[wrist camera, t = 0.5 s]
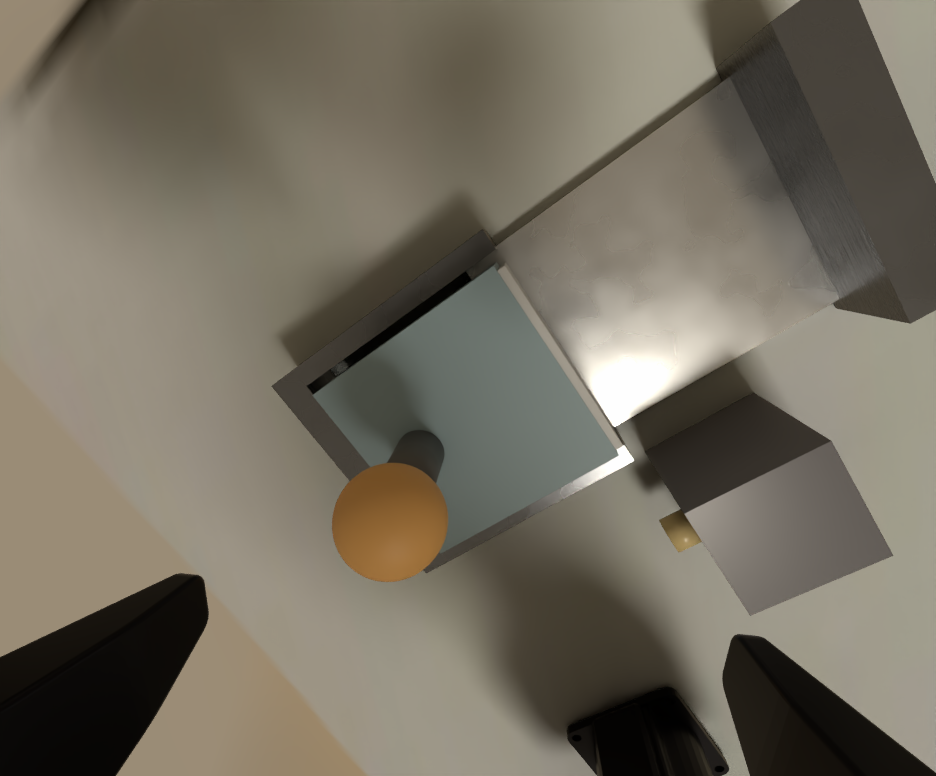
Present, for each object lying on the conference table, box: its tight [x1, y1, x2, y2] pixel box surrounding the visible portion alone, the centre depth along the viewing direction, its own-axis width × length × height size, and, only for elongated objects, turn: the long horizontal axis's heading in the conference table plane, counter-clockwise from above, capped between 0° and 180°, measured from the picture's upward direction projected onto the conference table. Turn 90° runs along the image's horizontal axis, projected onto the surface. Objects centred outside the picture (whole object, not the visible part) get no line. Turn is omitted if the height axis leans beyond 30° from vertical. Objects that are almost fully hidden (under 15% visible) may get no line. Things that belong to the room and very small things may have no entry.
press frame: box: [272, 0, 936, 573], centre depth 17 cm, size 10×22×4 cm, turn 125°
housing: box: [645, 393, 893, 616], centre depth 18 cm, size 5×6×5 cm
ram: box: [312, 262, 623, 582], centre depth 15 cm, size 8×8×9 cm
